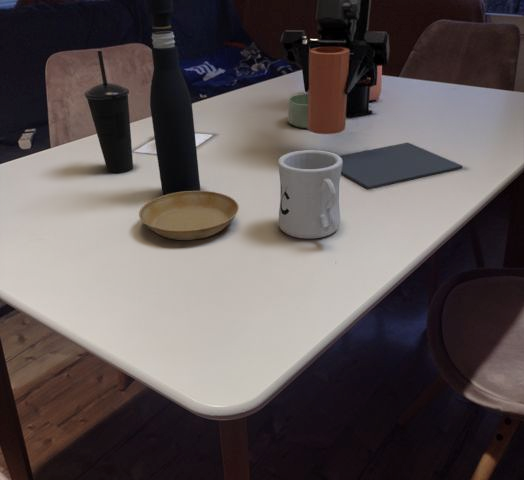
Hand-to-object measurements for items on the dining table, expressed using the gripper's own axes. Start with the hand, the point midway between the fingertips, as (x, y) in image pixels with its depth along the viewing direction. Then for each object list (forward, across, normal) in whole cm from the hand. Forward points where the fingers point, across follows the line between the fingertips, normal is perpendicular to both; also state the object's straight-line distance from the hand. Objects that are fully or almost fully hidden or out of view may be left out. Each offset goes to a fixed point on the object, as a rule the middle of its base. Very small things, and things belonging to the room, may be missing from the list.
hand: (325, 91), depth 102 cm
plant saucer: (+32, -13, -14) cm, 37 cm away
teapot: (-24, -5, +43) cm, 49 cm away
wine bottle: (+24, -20, -6) cm, 31 cm away
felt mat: (+8, +12, +9) cm, 17 cm away
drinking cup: (+18, -36, 0) cm, 40 cm away
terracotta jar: (+4, 0, +6) cm, 7 cm away
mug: (+30, +6, -13) cm, 33 cm away
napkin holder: (+6, -33, +12) cm, 36 cm away
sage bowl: (-9, -9, +27) cm, 30 cm away
